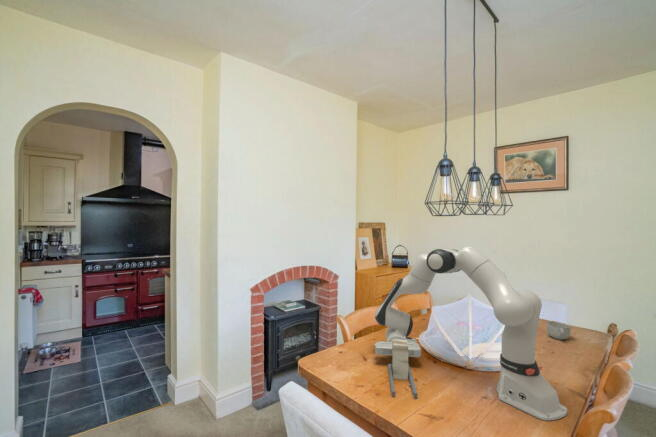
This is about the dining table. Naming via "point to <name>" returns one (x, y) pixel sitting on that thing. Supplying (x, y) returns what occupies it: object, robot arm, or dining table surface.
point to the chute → (409, 380)
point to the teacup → (558, 330)
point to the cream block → (400, 359)
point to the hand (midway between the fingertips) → (399, 357)
